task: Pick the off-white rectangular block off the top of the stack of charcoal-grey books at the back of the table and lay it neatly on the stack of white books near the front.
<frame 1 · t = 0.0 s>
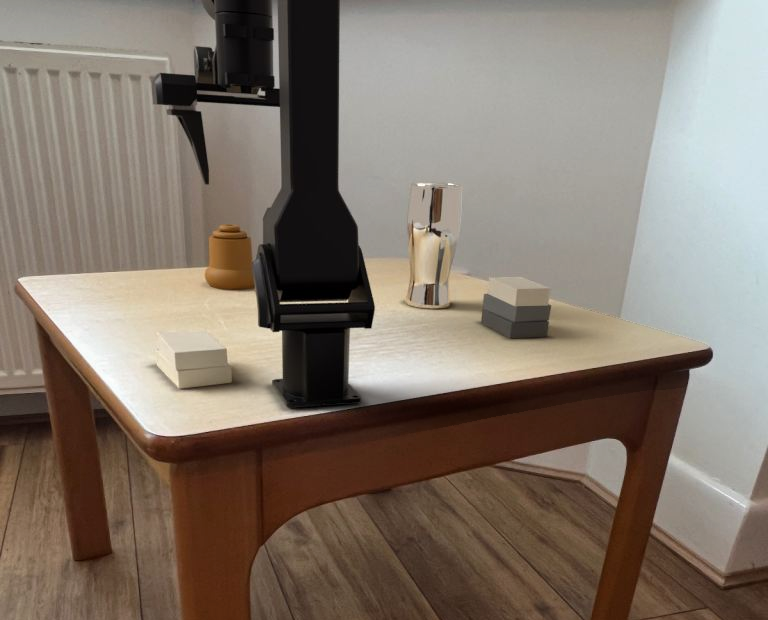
hand: (249, 185, 82), 15 cm above the table, tool pointing down, fingers open, 9 cm apart
beer glass: (427, 305, 102), on the table
ornamental finial: (232, 286, 106), on the table
grey books: (512, 329, 91), on the table
white books: (193, 374, 69), on the table
off-white rectangular block: (516, 299, 89), point 4 cm above the table, touching grey books
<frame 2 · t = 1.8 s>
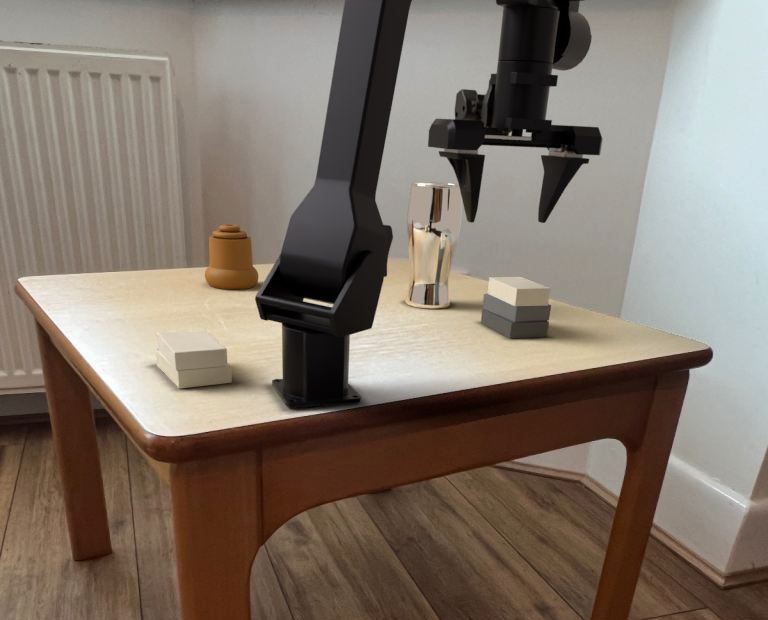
hand: (506, 222, 85), 12 cm above the table, tool pointing down, fingers open, 9 cm apart
nothing on the table moved.
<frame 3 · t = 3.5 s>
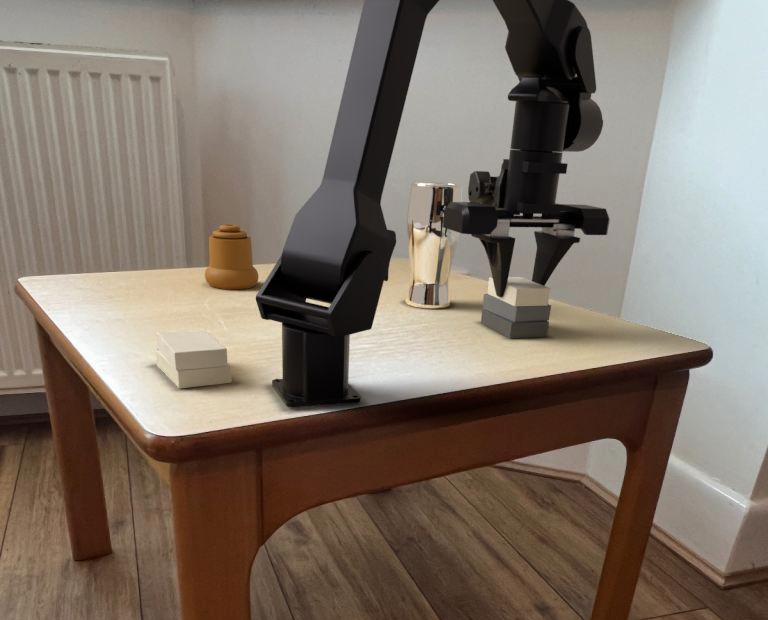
hand: (517, 296, 89), 4 cm above the table, tool pointing down, fingers closed on off-white rectangular block, 4 cm apart
off-white rectangular block: (516, 299, 89), point 4 cm above the table, touching grey books, gripper
everything else where it was.
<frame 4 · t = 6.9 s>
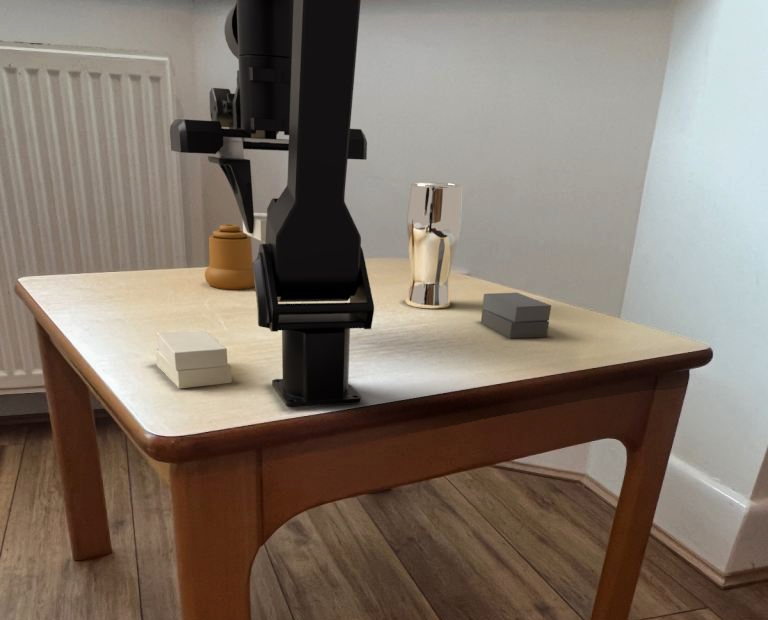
hand: (272, 232, 78), 11 cm above the table, tool pointing down, fingers closed on off-white rectangular block, 4 cm apart
off-white rectangular block: (272, 236, 78), point 10 cm above the table, touching gripper
everything else where it was.
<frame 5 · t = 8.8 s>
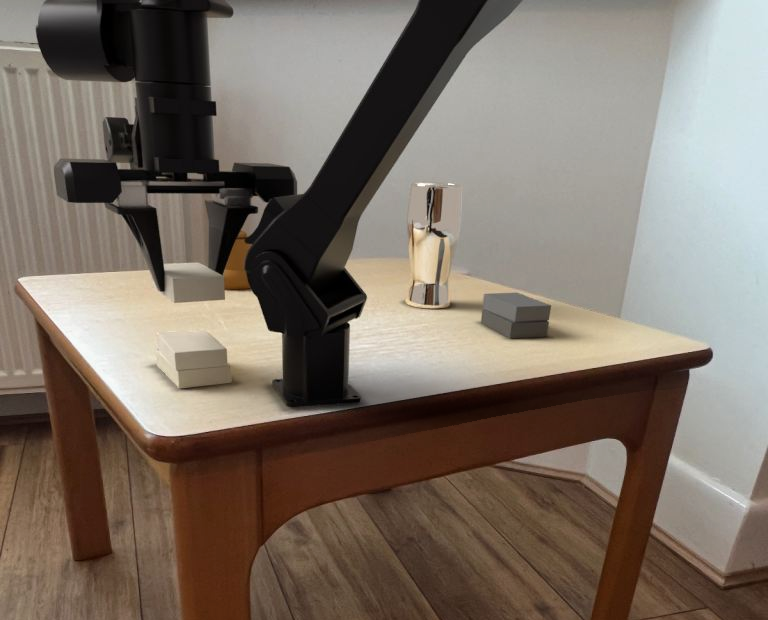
hand: (188, 289, 65), 8 cm above the table, tool pointing down, fingers closed on off-white rectangular block, 4 cm apart
off-white rectangular block: (188, 293, 66), point 7 cm above the table, touching gripper
everything else where it was.
when the fingers open (4 cm above the table, at t = 10.2 s): off-white rectangular block stays where it is, resting on white books.
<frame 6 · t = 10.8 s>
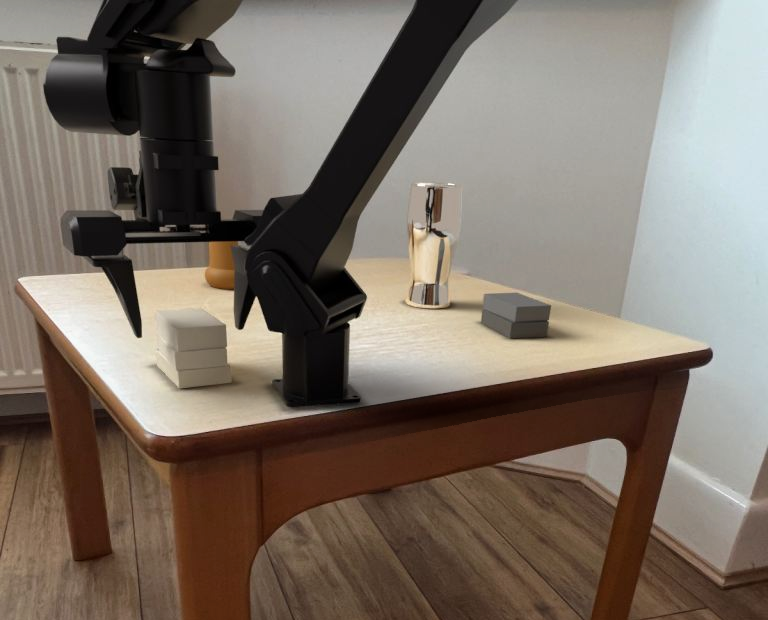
hand: (190, 332, 67), 4 cm above the table, tool pointing down, fingers open, 9 cm apart
off-white rectangular block: (191, 339, 67), point 3 cm above the table, touching white books
everything else where it was.
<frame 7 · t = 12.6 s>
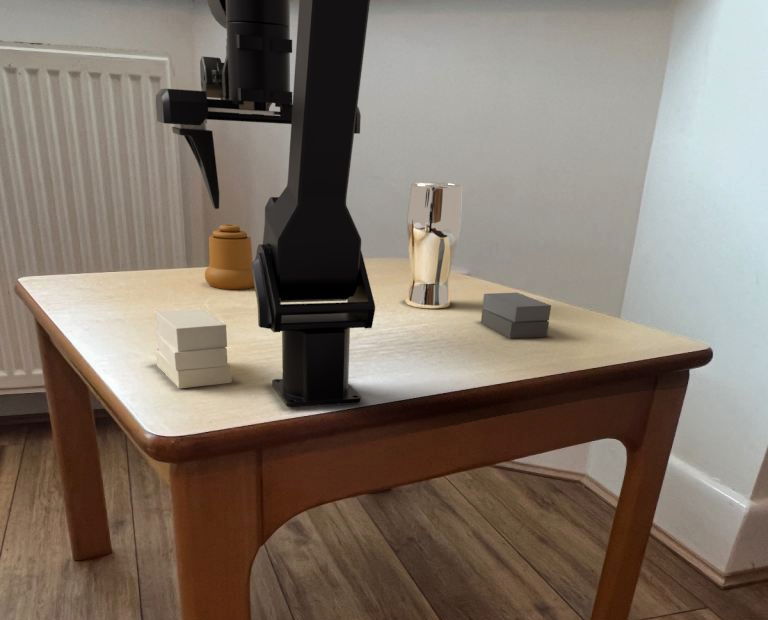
hand: (261, 209, 75), 13 cm above the table, tool pointing down, fingers open, 9 cm apart
nothing on the table moved.
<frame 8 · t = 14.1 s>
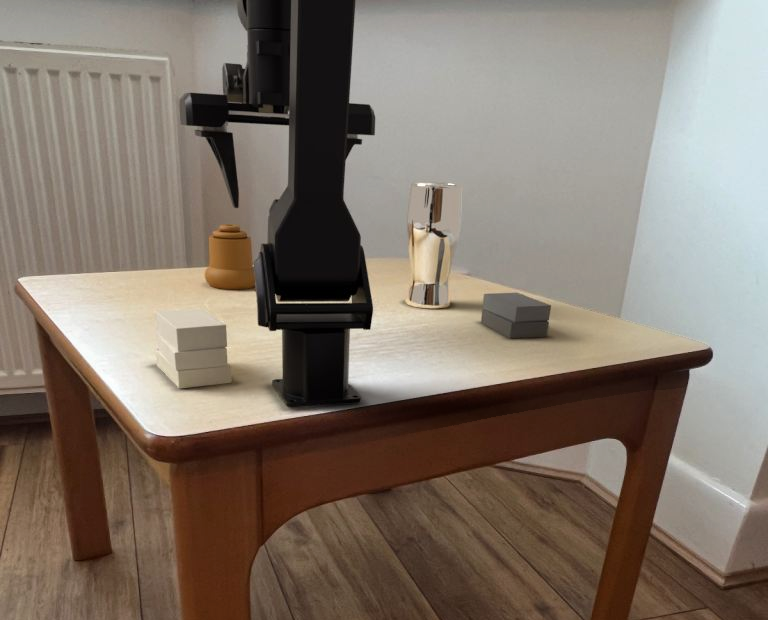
hand: (279, 208, 78), 13 cm above the table, tool pointing down, fingers open, 9 cm apart
nothing on the table moved.
at the end: off-white rectangular block 0.1 cm off-centre on the white books, point 3.2 cm above the white books's base; off-white rectangular block tilted 0°; the gripper is holding nothing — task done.
